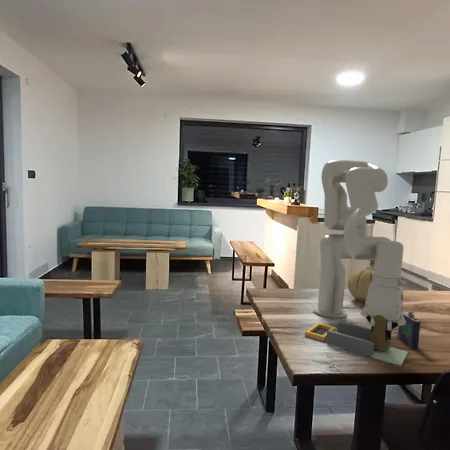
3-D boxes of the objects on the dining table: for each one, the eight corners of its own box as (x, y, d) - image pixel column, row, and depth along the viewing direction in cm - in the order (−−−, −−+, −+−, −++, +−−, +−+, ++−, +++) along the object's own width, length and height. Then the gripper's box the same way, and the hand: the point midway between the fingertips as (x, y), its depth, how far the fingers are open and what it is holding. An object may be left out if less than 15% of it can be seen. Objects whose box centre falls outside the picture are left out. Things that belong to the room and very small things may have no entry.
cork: (386, 352, 108) (390, 316, 107) (366, 346, 112) (369, 311, 111) (391, 345, 113) (395, 311, 112) (371, 340, 117) (374, 307, 116)
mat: (380, 345, 117) (380, 344, 117) (407, 353, 112) (408, 351, 112) (371, 357, 108) (371, 356, 108) (400, 366, 103) (401, 364, 103)
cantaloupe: (348, 304, 158) (351, 270, 156) (345, 294, 172) (347, 263, 171) (385, 308, 155) (388, 273, 153) (378, 298, 169) (381, 266, 167)
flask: (395, 337, 124) (398, 306, 123) (403, 337, 124) (406, 306, 123) (412, 349, 115) (416, 316, 114) (421, 349, 115) (425, 316, 114)
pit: (317, 326, 130) (317, 322, 130) (335, 331, 126) (335, 327, 126) (304, 336, 121) (305, 331, 121) (323, 341, 117) (324, 337, 117)
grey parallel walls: (338, 332, 126) (339, 320, 126) (381, 343, 118) (382, 331, 117) (326, 343, 116) (327, 331, 116) (371, 356, 108) (373, 343, 108)
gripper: (418, 284, 108) (411, 343, 110) (362, 274, 118) (357, 329, 120) (413, 289, 102) (407, 352, 104) (355, 278, 112) (349, 336, 114)
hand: (380, 339), depth 112 cm, fingers closed on cork, 2 cm apart
